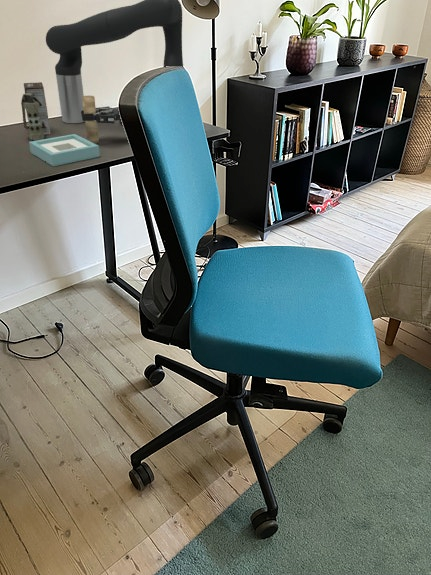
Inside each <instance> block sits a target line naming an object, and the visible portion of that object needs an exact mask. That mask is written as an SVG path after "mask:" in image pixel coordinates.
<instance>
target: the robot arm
mask: <svg viewBox="0 0 431 575" xmlns="http://www.w3.org/2000/svg"><path fill="white" fill-rule="evenodd" d="M182 8H183V7H182V4H181V2H180V1H179V0H141V1H140V2H137V3H135V4H132V5H126V6H125V5H124V6H121V7H120V6H119V7H116V8H111V9H108V10H106V11H102V12H99V13H97V14H93V15H90V16H89V17H86V18H84V19H82V20H79V21H77V22H74V23H70V24H60V25H59V24H58V25H53V26H52V27H50V28H49V29H48V30H47V32H46V34H45V43H46V46H47V47H48V49H49V50H50V51H51V52H52V53H53V54H56V55H59V60H58V61H57V63H56V64H55V66H54V69H55V76H56V78H55V79H56V84H57V91H58V100H59V105H60V107H59V108H60V114H61V118H62V120H61V121H62V122H63V123H66V124H81V123H85V121H95V122H97V124H115V121H118V124H119V125H120V126H121V127H124V126H123V125H122V122H121V119H120V115H119V111H118V108H113V107H110V106H109V105H108V106H101V107H96V113H94V115H93V113H91V114H84V109H83V101H82V96H85V95H84V94H85V93H84V86H83V78H82V66H83V65H82V64H83V58H82V56H83V55H82V53H83V52H82V47H84V46H92V45H93V46H95V45H100V44H108V43H113V42H116V41H119V40H123V39H126V38H127V37H129V36H132V34H134V33H135V32H137V31H139V30H143V29H149V28H154V27H158V28H159V27H162V30H163V36H164V57H163V67H166V66H182V67H183V68H184V61H183V9H182Z"/></svg>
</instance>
